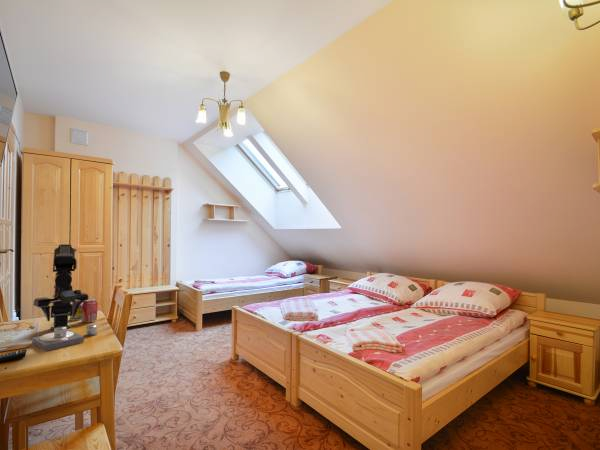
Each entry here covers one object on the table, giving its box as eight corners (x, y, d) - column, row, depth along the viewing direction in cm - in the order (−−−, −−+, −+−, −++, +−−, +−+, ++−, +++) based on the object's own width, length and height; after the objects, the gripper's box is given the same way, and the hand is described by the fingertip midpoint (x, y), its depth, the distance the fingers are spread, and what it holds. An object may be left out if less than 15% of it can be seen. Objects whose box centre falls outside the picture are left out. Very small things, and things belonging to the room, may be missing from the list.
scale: (31, 343, 136) (32, 336, 136) (69, 335, 148) (69, 329, 148) (45, 351, 128) (45, 344, 128) (83, 342, 140) (83, 335, 140)
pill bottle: (76, 321, 171) (77, 300, 171) (66, 320, 172) (67, 299, 173) (86, 318, 177) (87, 297, 178) (77, 317, 179) (78, 296, 179)
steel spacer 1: (52, 337, 137) (52, 328, 137) (63, 334, 140) (64, 325, 140) (56, 339, 134) (56, 330, 134) (68, 336, 138) (68, 327, 138)
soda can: (86, 319, 174) (87, 298, 175) (99, 319, 175) (100, 298, 175) (78, 323, 167) (79, 300, 168) (92, 323, 168) (93, 301, 168)
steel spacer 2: (85, 334, 151) (86, 325, 151) (96, 332, 153) (96, 324, 154) (86, 336, 147) (87, 327, 148) (97, 334, 150) (97, 326, 150)
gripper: (44, 288, 126) (42, 327, 125) (94, 283, 141) (93, 317, 141) (34, 285, 132) (32, 322, 131) (83, 280, 147) (81, 313, 147)
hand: (61, 318), depth 137 cm, fingers open, 9 cm apart
